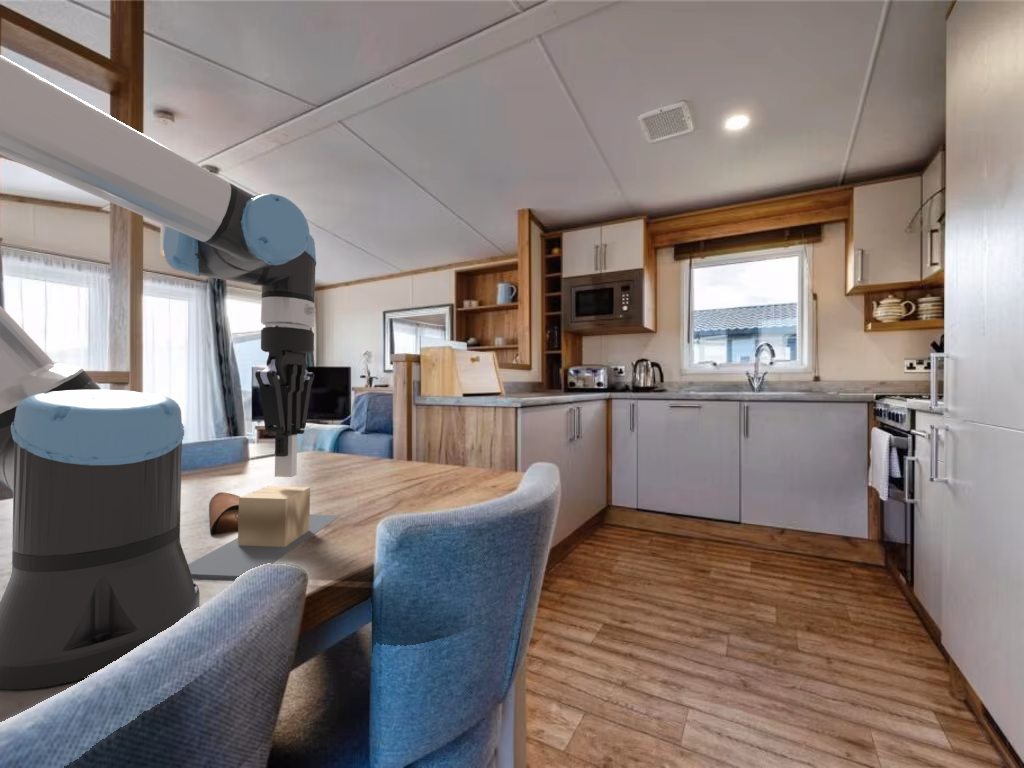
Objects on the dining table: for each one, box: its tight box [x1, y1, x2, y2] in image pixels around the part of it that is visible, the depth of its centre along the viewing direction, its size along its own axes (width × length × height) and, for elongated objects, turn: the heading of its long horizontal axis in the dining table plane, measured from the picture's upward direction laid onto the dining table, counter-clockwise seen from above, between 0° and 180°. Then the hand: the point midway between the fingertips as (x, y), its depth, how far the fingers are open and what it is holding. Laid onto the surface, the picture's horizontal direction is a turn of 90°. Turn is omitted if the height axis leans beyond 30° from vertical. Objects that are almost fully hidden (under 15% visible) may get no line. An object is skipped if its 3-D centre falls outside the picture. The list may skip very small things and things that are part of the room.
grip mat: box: [188, 514, 340, 582], centre depth 66 cm, size 24×10×1 cm, turn 178°
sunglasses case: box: [208, 491, 241, 536], centre depth 76 cm, size 18×7×7 cm, turn 36°
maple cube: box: [237, 485, 311, 547], centre depth 67 cm, size 7×7×7 cm
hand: (285, 475), depth 69 cm, fingers closed
